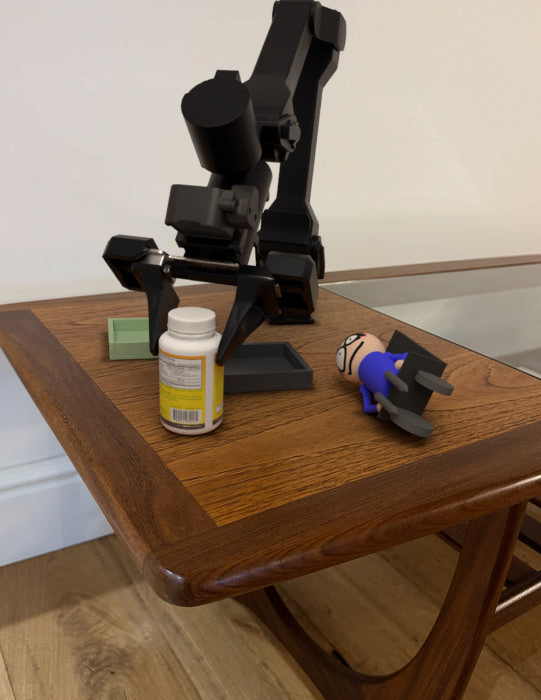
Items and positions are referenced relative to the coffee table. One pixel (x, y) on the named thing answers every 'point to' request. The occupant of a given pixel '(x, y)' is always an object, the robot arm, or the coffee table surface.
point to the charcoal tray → (266, 368)
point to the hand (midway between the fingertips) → (185, 359)
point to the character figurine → (394, 377)
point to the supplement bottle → (190, 372)
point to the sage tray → (129, 338)
